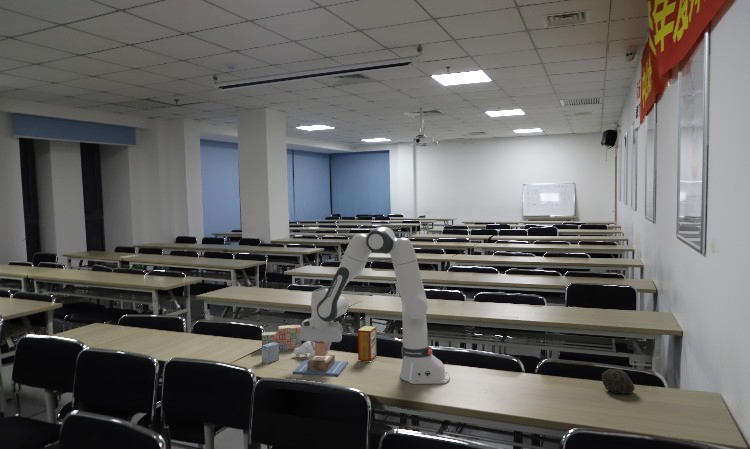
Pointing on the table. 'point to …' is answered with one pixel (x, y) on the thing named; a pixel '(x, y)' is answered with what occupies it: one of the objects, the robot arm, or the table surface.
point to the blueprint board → (312, 372)
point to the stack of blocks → (284, 337)
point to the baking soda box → (367, 343)
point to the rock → (617, 381)
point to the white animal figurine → (305, 350)
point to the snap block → (321, 348)
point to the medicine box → (270, 352)
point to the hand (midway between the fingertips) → (321, 350)
